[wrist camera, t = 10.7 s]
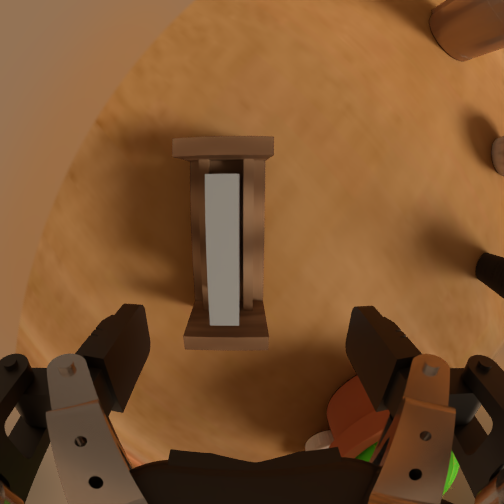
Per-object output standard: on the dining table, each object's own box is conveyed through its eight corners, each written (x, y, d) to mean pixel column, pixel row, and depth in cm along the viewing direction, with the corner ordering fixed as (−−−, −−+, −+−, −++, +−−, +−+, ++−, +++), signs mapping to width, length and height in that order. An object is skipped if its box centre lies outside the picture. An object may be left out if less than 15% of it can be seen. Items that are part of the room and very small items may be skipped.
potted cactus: (420, 325, 37) (517, 429, 13) (426, 401, 42) (481, 484, 18) (294, 389, 39) (328, 537, 14) (330, 449, 44) (359, 548, 20)
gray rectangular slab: (216, 174, 29) (204, 174, 19) (239, 174, 29) (238, 173, 19) (218, 281, 32) (210, 325, 22) (239, 281, 32) (239, 325, 23)
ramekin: (292, 446, 43) (295, 463, 39) (326, 422, 41) (331, 439, 37) (323, 455, 45) (327, 471, 41) (355, 433, 43) (361, 448, 39)
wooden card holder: (192, 148, 29) (172, 138, 20) (264, 148, 29) (273, 136, 21) (197, 307, 34) (184, 349, 25) (261, 307, 34) (268, 350, 26)
